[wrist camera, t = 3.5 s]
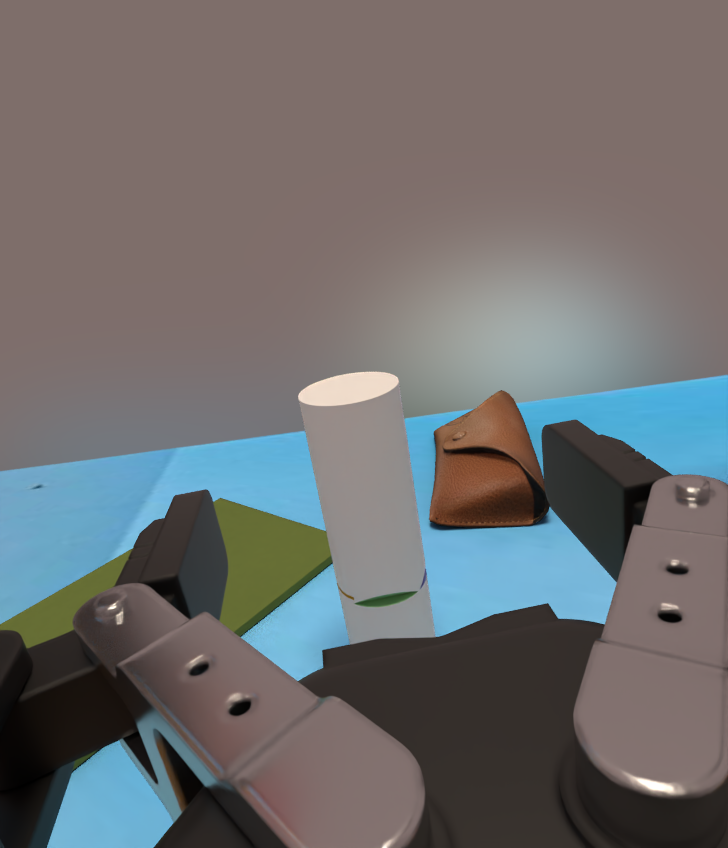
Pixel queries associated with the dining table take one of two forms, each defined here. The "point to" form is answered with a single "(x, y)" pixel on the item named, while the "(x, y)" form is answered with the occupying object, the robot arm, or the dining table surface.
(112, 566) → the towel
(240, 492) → the dining table surface
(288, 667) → the dining table surface
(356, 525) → the tube
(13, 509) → the dining table surface
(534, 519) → the sunglasses case
